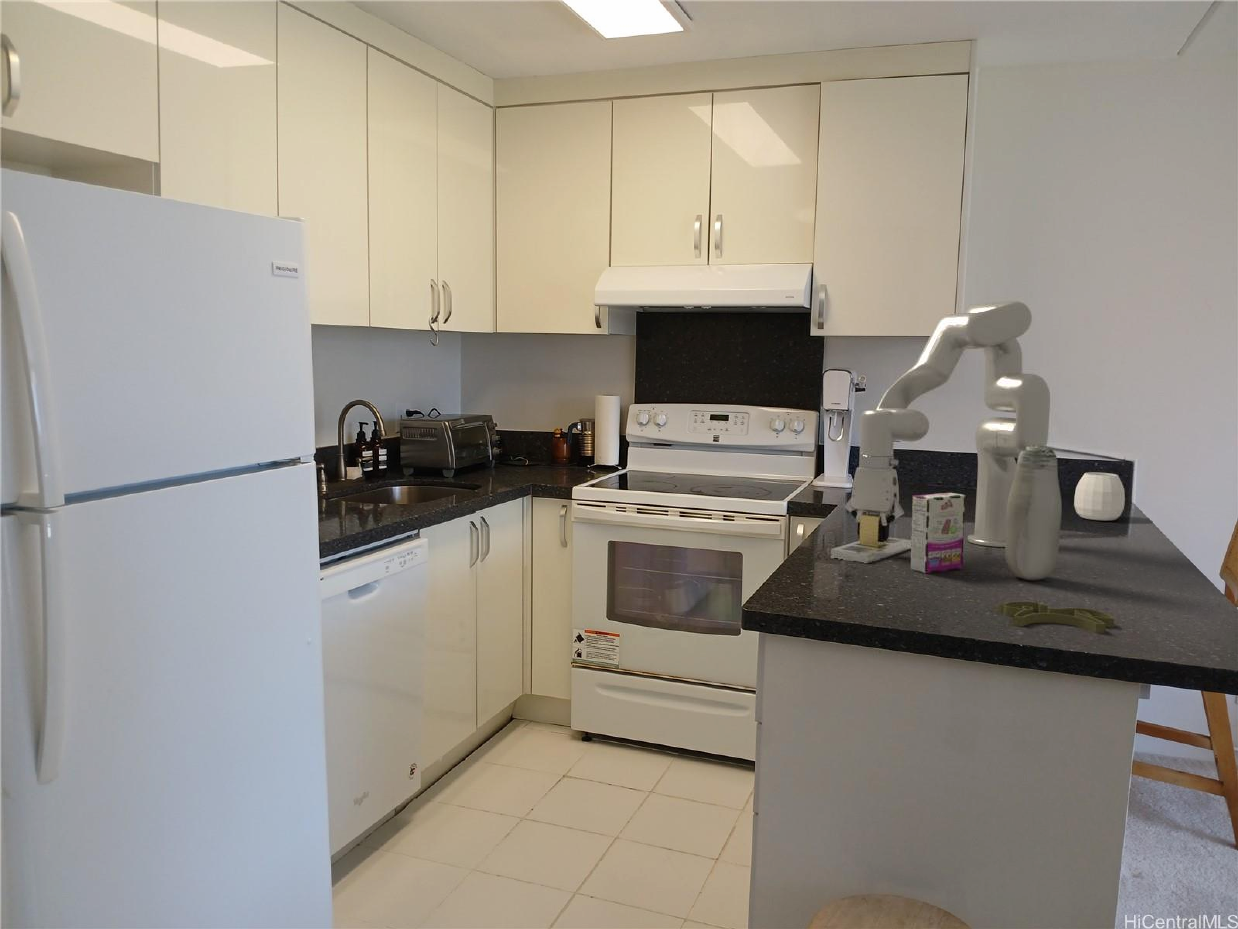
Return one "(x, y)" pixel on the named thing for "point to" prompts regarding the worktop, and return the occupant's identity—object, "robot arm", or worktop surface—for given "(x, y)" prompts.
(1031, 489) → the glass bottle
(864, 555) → the white rectangular frame
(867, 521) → the tan hollow block
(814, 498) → the worktop surface
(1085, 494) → the white faceted vase
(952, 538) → the candy bar box
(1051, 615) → the cookie cutter
